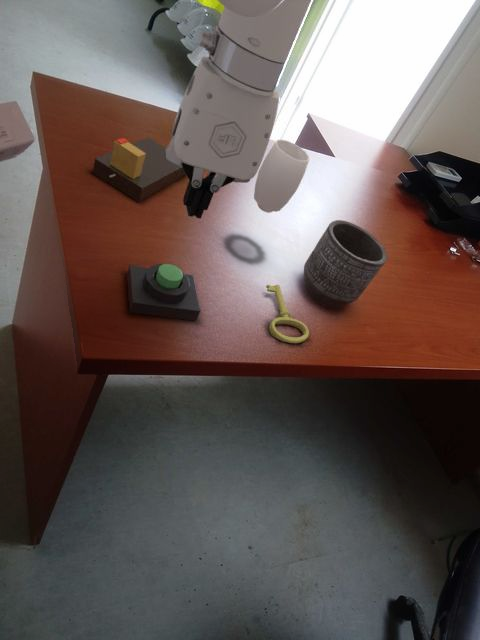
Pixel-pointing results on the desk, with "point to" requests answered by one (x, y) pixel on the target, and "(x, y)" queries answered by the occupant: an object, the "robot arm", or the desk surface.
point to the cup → (280, 175)
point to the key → (285, 319)
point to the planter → (342, 264)
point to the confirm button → (169, 276)
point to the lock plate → (153, 172)
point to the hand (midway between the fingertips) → (192, 210)
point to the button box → (161, 295)
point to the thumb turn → (127, 158)
